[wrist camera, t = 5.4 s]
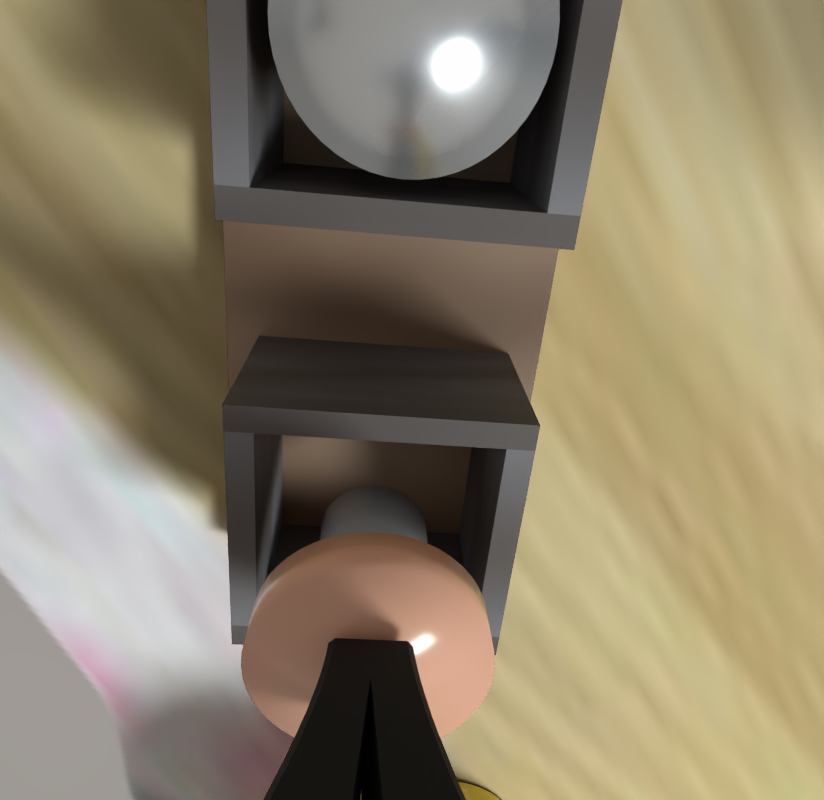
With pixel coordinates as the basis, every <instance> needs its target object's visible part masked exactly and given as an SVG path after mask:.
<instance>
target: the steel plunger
mask: <svg viewBox="0 0 824 800" xmlns="http://www.w3.org/2000/svg"><path fill="white" fill-rule="evenodd" d="M559 23H560V0H268V27H269V37H270V43H271V48H272V54H273V58H274V61H275V65H276V68H277V72H278V75H279V78H280V80H281V82H282V85H283V87H284V89H285V92H286V94H287V96H288V98H289V99H290V101H291V103H292V105H293V106H294V108H295V110H296V112H297V113H298V115H299V116H300V117H301V119H302V120H303V121H304V123H305V124H306V125H307V127H308V128H309V129H310V130H311V131H312V132H313V133H314V135H315V136H316V137H317V138H318V139H319V140H320V141H321V142H322V143H323V144H325V145H326V146H327V147H328V148H329V149H331V150H332V151H333V152H334V153H336V154H337V155H338V156H340V157H342V158H343V159H345V160H346V161H348V162H350V163H351V164H353V165H355V166H357V167H360V168H362V169H364V170H366V171H368V172H372V173H375V174H378V175H382V176H385V177H391V178H397V179H411V180H422V179H430V178H438V177H442V176H446V175H450V174H453V173H456V172H459V171H461V170H464V169H466V168H468V167H471V166H473V165H474V164H476V163H478V162H480V161H481V160H483V159H485V158H487V157H488V156H489V155H491V154H492V153H493V152H495V151H496V150H497V149H498V148H500V147H501V146H502V145H503V144H504V143H505V142H506V141H507V140H508V139H509V138H510V137H511V136H512V135H513V134H515V132H516V131H517V130H518V129H519V127H520V126H521V125H522V124H523V122H524V121H525V120H526V119H527V117H528V116H529V114H530V112H531V111H532V109H533V108H534V106H535V104H536V103H537V101H538V99H539V97H540V95H541V93H542V91H543V88H544V86H545V84H546V82H547V79H548V76H549V73H550V70H551V67H552V64H553V60H554V56H555V51H556V47H557V42H558V32H559Z"/></svg>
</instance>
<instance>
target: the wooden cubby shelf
mask: <svg viewBox="0 0 824 800" xmlns="http://www.w3.org/2000/svg"><path fill="white" fill-rule="evenodd" d="M621 5H622V0H560V23H559V32H558V42H557V47H556V51H555V56H554V60H553V64H552V67H551V70H550V73H549V76H548V79H547V82H546V84H545V86H544V88H543V91H542V93H541V95H540V97H539V99H538V101H537V103H536V104H535V106H534V108H533V109H532V111H531V112H530V114H529V116H528V117H527V119H526V120H525V121H524V122H523V124H522V125H521V126H520V127H519V129H518V130H517V131H516V132H515V134H513V135H512V136H511V137H510V138H509V139H508V140H507V141H506V142H505V143H504V144H503V145H502V146H501V147H500V148H498V149H497V150H496V151H495V152H493V153H492V154H491V155H489V156H488V157H487V158H485V159H483V160H481V161H480V162H478V163H476V164H474V165H473V166H471V167H468V168H466V169H464V170H461V171H459V172H456V173H453V174H450V175H446V176H442V177H438V178H430V179H422V180H411V179H397V178H391V177H385V176H382V175H378V174H375V173H372V172H368V171H366V170H364V169H362V168H360V167H357V166H355V165H353V164H351V163H350V162H348V161H346V160H345V159H343V158H342V157H340V156H338V155H337V154H336V153H334V152H333V151H332V150H331V149H329V148H328V147H327V146H326V145H325V144H323V143H322V142H321V141H320V140H319V139H318V138H317V137H316V136H315V135H314V133H313V132H312V131H311V130H310V129H309V128H308V127H307V125H306V124H305V123H304V121H303V120H302V119H301V117H300V116H299V115H298V113H297V112H296V110H295V108H294V106H293V105H292V103H291V101H290V99H289V98H288V96H287V94H286V92H285V89H284V87H283V85H282V82H281V80H280V78H279V75H278V72H277V68H276V65H275V61H274V58H273V54H272V48H271V43H270V37H269V27H268V0H206V6H207V31H208V56H209V81H210V106H211V131H212V156H213V181H214V206H215V220H219V221H223V233H224V262H225V290H226V319H227V347H228V376H229V393H228V395H227V397H226V399H225V401H224V403H223V430H224V455H225V480H226V505H227V530H228V555H229V580H230V605H231V630H232V644H243V645H244V642H245V638H246V634H247V630H248V626H249V623H250V619H251V615H252V611H253V607H254V604H255V600H256V597H257V595H258V593H259V590H260V588H261V586H262V585H263V583H264V582H265V580H266V579H267V577H268V576H269V575H270V573H271V572H272V571H273V570H274V569H275V568H276V567H277V566H278V565H279V564H280V563H281V562H283V561H284V560H285V559H286V558H287V557H289V556H290V555H292V554H293V553H295V552H297V551H298V550H300V549H302V548H304V547H306V546H308V545H310V544H312V543H314V542H317V541H319V539H320V533H321V526H322V521H323V517H324V515H325V512H326V510H327V509H328V507H329V506H330V505H331V504H332V502H333V501H334V500H336V499H337V498H338V497H339V496H341V495H342V494H344V493H346V492H348V491H350V490H353V489H356V488H359V487H364V486H383V487H388V488H392V489H395V490H398V491H400V492H402V493H404V494H406V495H407V496H409V497H410V498H411V499H412V500H414V501H415V502H416V504H417V505H418V506H419V507H420V509H421V510H422V512H423V514H424V517H425V520H426V527H427V539H428V544H430V545H432V546H434V547H436V548H438V549H440V550H441V551H443V552H445V553H446V554H448V555H449V556H451V557H452V558H453V559H455V560H456V561H457V562H458V563H459V564H461V565H462V566H463V567H464V568H465V569H466V571H467V572H468V573H469V574H470V575H471V576H472V578H473V579H474V581H475V582H476V584H477V585H478V587H479V589H480V591H481V593H482V596H483V598H484V602H485V606H486V610H487V615H488V621H489V626H490V632H491V637H492V643H493V648H494V655H496V651H497V645H498V640H499V635H500V630H501V625H502V620H503V614H504V609H505V604H506V599H507V594H508V589H509V583H510V578H511V573H512V568H513V563H514V558H515V553H516V547H517V542H518V537H519V532H520V527H521V522H522V516H523V511H524V506H525V501H526V496H527V491H528V485H529V480H530V475H531V470H532V465H533V460H534V454H535V449H536V444H537V439H538V434H539V429H540V424H539V422H538V420H537V417H536V415H535V413H534V411H533V408H532V406H531V404H530V402H531V396H532V391H533V385H534V380H535V374H536V369H537V363H538V358H539V353H540V347H541V342H542V336H543V331H544V325H545V320H546V314H547V309H548V303H549V298H550V293H551V287H552V282H553V276H554V271H555V265H556V260H557V254H558V249H569V250H574V248H575V243H576V238H577V232H578V227H579V222H580V217H581V212H582V207H583V201H584V196H585V191H586V186H587V181H588V176H589V171H590V165H591V160H592V155H593V150H594V145H595V140H596V134H597V129H598V124H599V119H600V114H601V109H602V103H603V98H604V93H605V88H606V83H607V78H608V72H609V67H610V62H611V57H612V52H613V47H614V41H615V36H616V31H617V26H618V21H619V16H620V10H621Z"/></svg>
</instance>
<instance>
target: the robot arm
mask: <svg viewBox="0 0 824 800" xmlns="http://www.w3.org/2000/svg"><path fill="white" fill-rule="evenodd" d="M361 791H362V800H466V798H465V796H464V794H463V792H462V790H461V787H460V785H459V783H458V781H457V778H456V776H455V774H454V771H453V769H452V767H451V764H450V761H449V759H448V756H447V754H446V751H445V749H444V746H443V744H442V741H441V739H440V736H439V734H438V731H437V728H436V726H435V723H434V720H433V717H432V714H431V712H430V708H429V705H428V702H427V699H426V696H425V693H424V690H423V686H422V683H421V680H420V676H419V672H418V668H417V664H416V659H415V654H414V648H413V646H412V645H411V644H410V643H409V642H408V641H394V640H371V639H348V638H335V639H333V640H332V641H330V642H329V643H328V647H327V652H326V656H325V660H324V663H323V667H322V670H321V673H320V676H319V679H318V682H317V685H316V688H315V690H314V693H313V696H312V698H311V701H310V703H309V706H308V708H307V711H306V713H305V715H304V717H303V720H302V722H301V724H300V726H299V729H298V731H297V733H296V735H295V738H294V740H293V742H292V744H291V746H290V749H289V751H288V753H287V755H286V757H285V759H284V761H283V763H282V765H281V767H280V769H279V771H278V773H277V775H276V777H275V778H274V780H273V782H272V784H271V786H270V788H269V790H268V792H267V794H266V796H265V798H264V800H360V795H361Z"/></svg>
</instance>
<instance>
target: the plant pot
mask: <svg viewBox="0 0 824 800" xmlns="http://www.w3.org/2000/svg"><path fill="white" fill-rule="evenodd" d="M458 783H459V785H460V787H461V790H462V792H463V794H464V796H465V798H466V800H500V799H499V798H498V797H496V796H495V795H493V794H492V793H490V792H489V791H487V790H484V789H482V788H480V787H477V786H474V785H471V784H468V783H463V782H458Z"/></svg>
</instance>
